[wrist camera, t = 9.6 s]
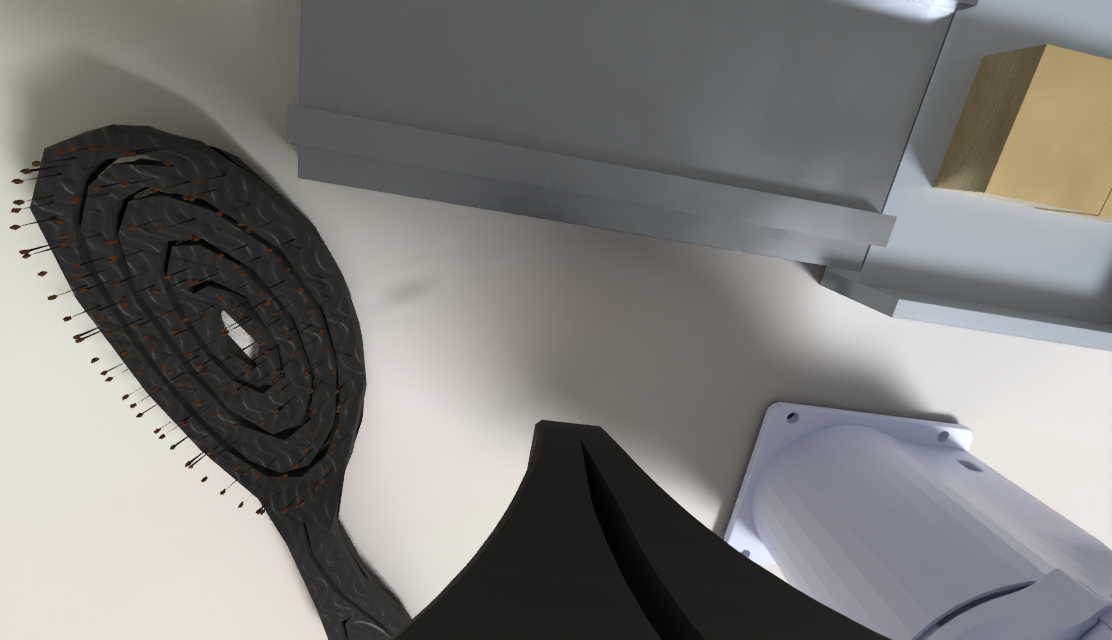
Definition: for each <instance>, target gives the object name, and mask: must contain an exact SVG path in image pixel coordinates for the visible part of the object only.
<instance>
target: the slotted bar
mask: <svg viewBox="0 0 1112 640" xmlns="http://www.w3.org/2000/svg"><path fill="white" fill-rule="evenodd" d="M977 3H978V0H302V9H301V56H300V103H299V106H295V105H290V104H288V143H292V144H298V145H299V151H298V178H302V179H308V180H314V181H320V182H326V183H332V184H338V185H344V186H350V187H356V188H362V189H368V190H374V191H380V192H386V193H392V194H398V195H404V196H410V197H416V198H422V199H428V200H434V201H440V202H446V203H452V204H458V205H464V206H470V207H476V208H482V209H488V210H494V211H500V212H506V213H512V214H518V215H524V216H530V217H536V218H542V219H548V220H554V221H560V222H566V223H572V224H578V225H584V226H590V227H596V228H602V229H608V230H614V231H620V232H626V233H632V234H638V235H644V236H650V237H656V238H662V239H668V240H674V241H680V242H686V243H692V244H698V245H704V246H710V247H716V248H722V249H728V250H734V251H740V252H746V253H752V254H758V255H764V256H770V257H776V258H782V259H788V260H794V261H800V262H806V263H812V264H818V265H824V266H830V267H836V268H842V269H848V270H854V271H860V269H861V266H862V263H863V260H864V258H865V255H866V252H867V249H868V247H869V245H875V246H881V247H886V246H887V244H888V241H889V238H890V236H891V233H892V230H893V228H894V225H895V222H896V219H897V217H896V216H891V215H886V214H881V211H882V208H883V205H884V203H885V200H886V197H887V194H888V192H889V189H890V186H891V183H892V181H893V178H894V175H895V172H896V170H897V167H898V164H899V161H900V159H901V156H902V153H903V150H904V148H905V145H906V142H907V139H908V137H909V134H910V131H911V128H912V126H913V123H914V120H915V117H916V115H917V112H918V109H919V106H920V104H921V101H922V98H923V95H924V93H925V90H926V87H927V84H928V82H929V79H930V76H931V73H932V71H933V68H934V65H935V62H936V60H937V57H938V54H939V51H940V49H941V46H942V43H943V40H944V38H945V35H946V32H947V29H948V27H949V24H950V21H951V18H952V16H953V13H954V12H958V11H961V10H964V9H968V8H971V7H974V6H977Z"/></svg>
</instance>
